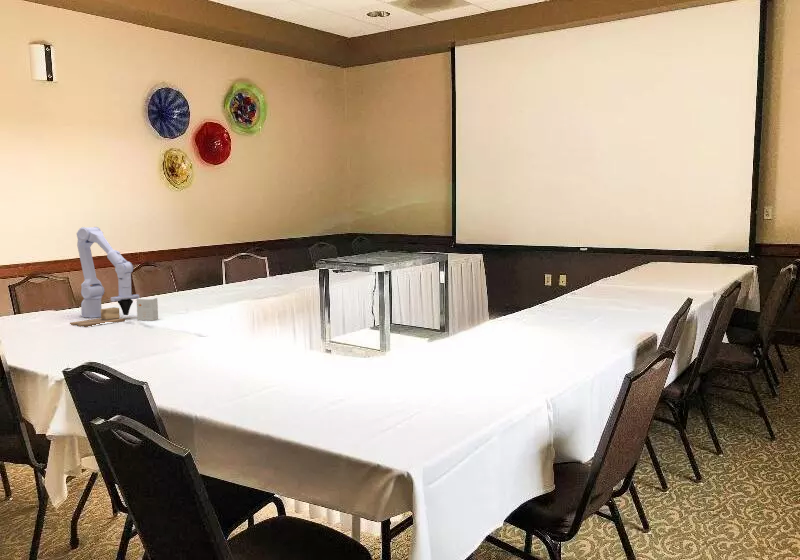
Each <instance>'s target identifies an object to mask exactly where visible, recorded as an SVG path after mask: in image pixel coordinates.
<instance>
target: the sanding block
mask: <svg viewBox="0 0 800 560" xmlns="http://www.w3.org/2000/svg"><path fill="white" fill-rule="evenodd" d="M100 318H101V320H112V319H119V318H120V307H116V306H115V307H106V308H102V309H101V317H100ZM120 319H121V318H120Z"/></svg>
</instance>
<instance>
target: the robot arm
mask: <svg viewBox="0 0 800 560" xmlns="http://www.w3.org/2000/svg"><path fill="white" fill-rule="evenodd" d="M76 237H77V244H76V246H77V251H78V254H79V260H80V264H81V270H82V274H83V282H82V283H81V284H80V285H81V289H80V294H81V297H82V298H83V299H82V301H81V302H80V307H81V308H80V310H81V311H80V312H81V315H79V316H80V317H82V318H89V319H96V318H101V309H103V308H102V299H103V296H104V294H105V287H104V286H103V285H102V282H101V280H99V279H98V278H97V273H96V269H95V264H94V259H93V255H92V249H91V247H92V246H93V244H94V243H96V244H97V245H98V246H99V247H100V248H101V249H102V250H103V251H104V252H105V253H106V257H107V260H109V261H110V263H111V264H112V265H113V267H114V270H115V273H116V274H117V275H116V276H117V281H118V282H117V283H118V285H117V286H118V295H117V296H111V297H110V302H112V303H113V302H117V303H118V304H119V308H120V309H121V311H122V314H123V316H128V315H129V313H130V309H131V307H132V305H133V303H134V300H137V299H138V298H140V294H132V273H133V271H134V265H133V263H132V262H130V261H128V260H127V259H126V258H124V256H123V255H122V254H121V252H120V250H117V249H114V248H113V247H112V246H111V244H110V243H109V242H108V240H107V239H106V237H105V235H104V232H103V231H102V230H101V228H99V227H98V226H93V227H91V226H89V227H85V226H84V227H83V226H82V227H80V228H79V229H78V230H77V232H76Z"/></svg>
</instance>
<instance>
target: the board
mask: <svg viewBox="0 0 800 560" xmlns="http://www.w3.org/2000/svg"><path fill="white" fill-rule="evenodd" d="M125 320H126V319H125V318H119V319H112V320H101V317H97V318H90V319H85V320H79V321H72V322H69V325H70V324H71V325H70V326H74V325H78V326H77V327H81V326H84V327H83V328H89V327H88V326H91V327H93V326H92V325H96V324H100V323H105V322H117V323H122V322H125Z"/></svg>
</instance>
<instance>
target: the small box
mask: <svg viewBox="0 0 800 560" xmlns="http://www.w3.org/2000/svg"><path fill="white" fill-rule="evenodd" d="M136 317H137V319H136V320H137V321H144V322H145V321H147V322H151V321H156V320H158V319H159V305H158V297H139V298H138V299H136Z"/></svg>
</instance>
